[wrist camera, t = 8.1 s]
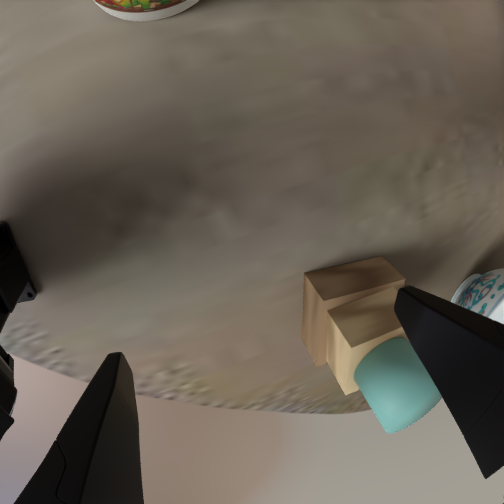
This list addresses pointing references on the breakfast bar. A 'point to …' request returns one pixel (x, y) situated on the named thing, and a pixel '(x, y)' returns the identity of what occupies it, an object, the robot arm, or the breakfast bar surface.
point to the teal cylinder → (396, 384)
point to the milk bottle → (144, 8)
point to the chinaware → (483, 294)
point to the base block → (340, 296)
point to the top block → (359, 333)
